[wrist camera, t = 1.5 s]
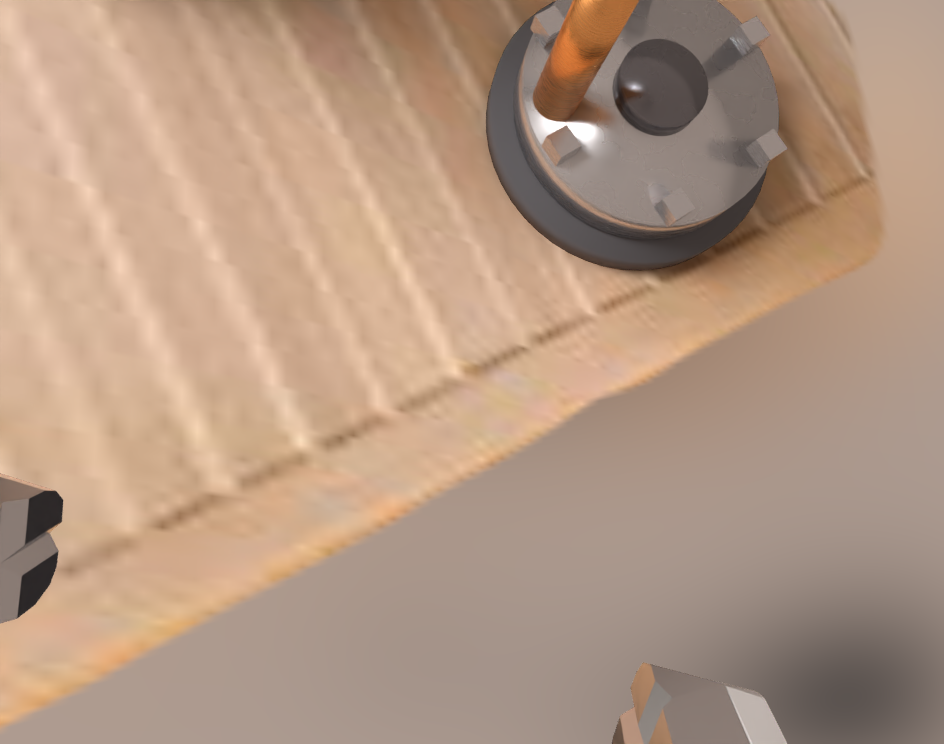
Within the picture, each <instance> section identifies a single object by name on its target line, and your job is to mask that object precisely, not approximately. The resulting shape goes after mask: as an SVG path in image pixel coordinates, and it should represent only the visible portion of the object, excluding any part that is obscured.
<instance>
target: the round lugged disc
mask: <svg viewBox="0 0 944 744" xmlns="http://www.w3.org/2000/svg"><path fill="white" fill-rule="evenodd" d="M530 29H531V30H532V32H533V35H532V37H531V40H530V42H529V45H528V47H527V50H526V53H525V55H524V58H523V61H522V63H521V66H520V69H519V72H518V75H517V79H516V83H515V88H514V96H513V117H514V123H515V130H516V134H517V138H518V141H519V144H520V148H521V150H522V152H523V155H524V157H525V159H526V161H527V164H528V165H529V167H530V169H531V170H532V172H533V174H534V175H535V177H536V178H537V180H538V181H539V182H540V184H541V185H542V186H543V188H544V189H545V190H546V191H547V192H548V193H549V194H550V195H551V196H552V197H553V199H554V200H555V201H556V202H557V203H558V204H560V205H561V206H562V207H563V208H565V209H566V210H567V211H568V212H570V213H571V214H572V215H574V216H575V217H577V218H579V219H580V220H582V221H583V222H585V223H587V224H589V225H591V226H593V227H595V228H597V229H600V230H602V231H604V232H608V233H611V234H614V235H617V236H621V237H627V238H632V239H643V240H656V239H667V238H672V237H676V236H681V235H684V234H687V233H689V232H692V231H694V230H697V229H699V228H700V227H702V226H704V225H706V224H708V223H709V222H711V221H712V220H713V219H715V218H716V217H717V216H719V215H720V214H722V213H723V212H724V211H726V210H727V209H728V208H730V207H731V206H732V205H734V204H735V203H736V202H738V201H739V200H740V199H742V198H743V197H744V196H745V195H746V194H747V193H748V192H749V191H750V190H751V189H752V188H753V187H754V186H755V185H756V183H757V182H758V181H759V179H760V178H761V176H762V175H763V173H764V172H765V170H766V168H767V166H768V164H769V162H770V161H771V160H773V159H774V158H776V157H777V156H779V155H780V154H781V153H782V152H784V151H785V150H786V149H788V148H787V147H786V145H785V144H784V143H783V141H782V140H781V138H780V137H779V135H778V128H779V107H778V97H777V92H776V88H775V83H774V80H773V77H772V74H771V71H770V68H769V66H768V64H767V61H766V59H765V57H764V55H763V53H762V51H761V50H760V48H759V47H760V46H761V44H762V43H763V42H764V41H765V40H766V39H767V38H768V37H769V36H770V34H769V33H768V31H767V30H766V28H765V27H764V26H763V24H762V23H761V21H760V20H759V19H758V17H757V16H756V17H754V18H752V19H750V20H749V21H747V22H745V23H743V24H742V23H741V22H740V21H739V20H738V19H737V18H736V17H735V16H734V15H733V14H732V13H731V12H730V11H729V10H727V9H726V8H725V7H724V6H722V5H721V4H720V3H719V2H718V1H716V0H557V1H556V2H555V3H554V4H553V5H552V6H551V7H550V8H548V9H546V10H544V11H543V12H541V13H539V14H537V15H535V17H534V19H533V22H532V25H531V28H530Z"/></svg>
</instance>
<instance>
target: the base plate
mask: <svg viewBox="0 0 944 744" xmlns="http://www.w3.org/2000/svg"><path fill="white" fill-rule="evenodd" d="M555 2H556V1H555ZM555 2H552V3H551V4H549V5H548V6H546V7H544V8H543V9H541V10H539V11H538V12H537V13H536V14H534V15H533V16H532V17H531V18H530V19H528V20H527V21H526V22H525V23H524V24H523V25H522V26H521V27H520V29H519V30H518V31H517V32H516V33H515V34H514V36H513V37H512V39H511V40H510V42H509V43H508V45H507V47H506V48H505V50H504V52H503V54H502V57H501V59H500V61H499V63H498V66H497V69H496V72H495V75H494V78H493V82H492V85H491V89H490V92H489V96H488V103H487V111H486V133H487V140H488V146H489V151H490V155H491V158H492V162H493V165H494V168H495V171H496V173H497V175H498V178H499V180H500V182H501V184H502V186H503V188H504V190H505V191H506V193H507V195H508V196H509V198H510V200H511V201H512V203H513V204H514V205H515V207H516V208H517V209H518V210H519V212H520V213H521V214H522V216H523V217H524V218H525V219H526V220H527V221H528V222H529V223H530V224H531V225H532V226H533V227H534V228H535V229H536V230H537V231H538V232H540V233H541V234H542V235H543V236H545V237H546V238H547V239H548V240H550V241H551V242H552V243H554V244H555V245H557V246H559V247H560V248H562V249H564V250H565V251H567V252H568V253H571V254H573V255H575V256H577V257H579V258H582V259H584V260H586V261H589V262H592V263H595V264H599V265H602V266H606V267H611V268H617V269H622V270H650V269H659V268H664V267H668V266H672V265H676V264H679V263H681V262H684V261H686V260H689V259H691V258H693V257H695V256H697V255H698V254H700V253H702V252H704V251H705V250H707V249H708V248H710V247H712V246H713V245H715V244H716V243H718V242H719V241H720V240H722V239H723V238H724V237H725V236H727V235H728V234H729V233H731V232H732V231H733V230H734V229H735V228H736V227H737V226H738V224H739V223H740V222H741V221H742V220H743V219H744V218H745V216H746V215H747V213H748V212H749V211H750V209H751V208H752V206H753V204H754V202H755V200H756V198H757V196H758V194H759V192H760V190H761V187H762V184H763V181H764V178H765V175H766V170H767V168H766V170H765V172H764V173H763V175H762V176H761V178H760V179H759V181H758V182H757V183H756V185H755V186H754V187H753V188H752V189H751V190H750V191H749V192H748V193H747V194H746V195H745V196H744V197H743V198H742V199H740V200H739V201H738V202H736V203H735V204H734V205H732V206H731V207H730V208H728V209H727V210H726V211H724V212H723V213H722V214H720V215H719V216H717V217H716V218H715V219H713V220H712V221H711V222H709V223H708V224H706V225H704V226H702V227H700V228H699V229H697V230H694V231H692V232H689V233H687V234H684V235H681V236H676V237H672V238H667V239H656V240H643V239H632V238H627V237H621V236H617V235H614V234H611V233H608V232H604V231H602V230H600V229H597V228H595V227H593V226H591V225H589V224H587V223H585V222H583V221H582V220H580V219H579V218H577V217H575V216H574V215H572V214H571V213H570V212H568V211H567V210H566V209H565V208H563V207H562V206H561V205H560V204H558V203H557V202H556V201H555V200H554V199H553V197H552V196H551V195H550V194H549V193H548V192H547V191H546V190H545V189H544V188H543V186H542V185H541V184H540V182H539V181H538V180H537V178H536V177H535V175H534V174H533V172H532V170H531V169H530V167H529V165H528V164H527V161H526V159H525V157H524V155H523V152H522V150H521V148H520V144H519V141H518V138H517V134H516V130H515V123H514V117H513V96H514V88H515V83H516V79H517V75H518V72H519V69H520V66H521V63H522V61H523V58H524V55H525V53H526V50H527V47H528V45H529V42H530V40H531V37H532V35H533V32H532V30H531V29H530V28H531V25H532V22H533V19H534V17H535V15H537V14H539V13H541V12H543V11H544V10H546V9H548V8H550V7H551V6H552V5H553V4H554V3H555Z"/></svg>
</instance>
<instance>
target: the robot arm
mask: <svg viewBox="0 0 944 744" xmlns="http://www.w3.org/2000/svg"><path fill="white" fill-rule="evenodd" d="M62 511H63V499H62V498H61V496H60V495H59V494H58V493H57V491H55V490H52V489H49V488H46V487H42V486H39V485H36V484H33V483H30V482H26V481H23V480H20V479H17V478H14V477H10V476H7V475H4V474H1V473H0V623H3V622H7V621H10V620H14V619H17V618H19V617H20V616H21V615H22V614H24V613H25V612H26V611H28V610H29V609H30V608H31V607H33V606H34V605H35V604H36V603H37V601H38V600H39V599H40V597H41V596H42V595H43V593H44V592H45V590H46V589H47V588H48V586H49V585H50V583H51V580H52V577H53V575H54V572H55V569H56V566H57V558H58V549H57V547H56V545H55V543H54V541H53V539H52V537H51V535H50V532H51V531H52V530H54V529H55V528H56V527H57V526H58V525H59V524H60V523H61V522H62ZM631 693H632V698H633V703H634V707H633V708H632V709H630V710H628V711H627V712H625V713H624V714H622V715H621V716H620V718H619V721H618V724H617V727H616V729H615V733H614V735H613V740H612V744H787V742H786V740H785V738H784V736H783V734H782V732H781V730H780V728H779V726H778V724H777V722H776V720H775V718H774V716H773V714H772V712H771V710H770V708H769V706H768V704H767V702H766V700H765V699H764V697H763V696H761V695H760V694H759V693H758V692H756V691H753V690H749V689H745V688H741V687H737V686H733V685H729V684H725V683H721V682H715V681H712V680H708V679H704V678H700V677H697V676H693V675H689V674H685V673H681V672H678V671H674V670H670V669H667V668H662V667H659V666H655V665H652V664H647V663H642V665H641V666H640V668H639V669H638V671H637V672H636V675H635V678H634V680H633V683H632V685H631Z"/></svg>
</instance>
